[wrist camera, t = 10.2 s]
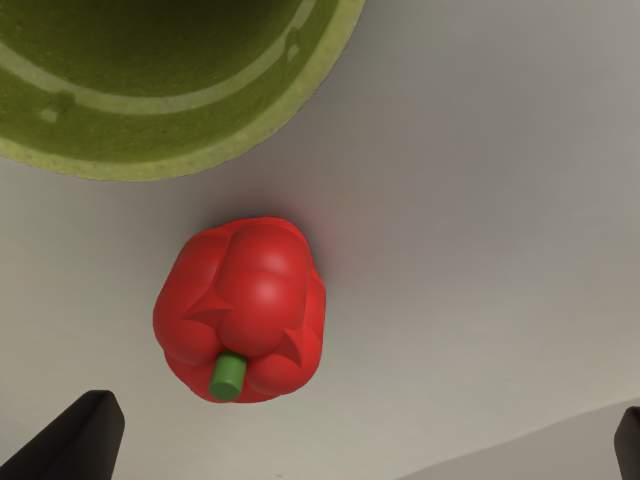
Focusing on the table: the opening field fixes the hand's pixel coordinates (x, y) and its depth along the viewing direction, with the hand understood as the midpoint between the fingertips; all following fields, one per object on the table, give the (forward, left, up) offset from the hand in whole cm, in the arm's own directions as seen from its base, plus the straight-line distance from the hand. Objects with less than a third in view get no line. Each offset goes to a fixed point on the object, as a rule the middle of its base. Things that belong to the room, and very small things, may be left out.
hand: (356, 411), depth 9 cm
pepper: (+4, +5, -11) cm, 13 cm away
